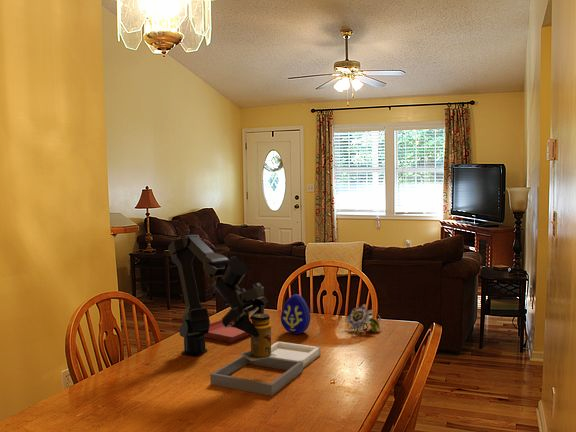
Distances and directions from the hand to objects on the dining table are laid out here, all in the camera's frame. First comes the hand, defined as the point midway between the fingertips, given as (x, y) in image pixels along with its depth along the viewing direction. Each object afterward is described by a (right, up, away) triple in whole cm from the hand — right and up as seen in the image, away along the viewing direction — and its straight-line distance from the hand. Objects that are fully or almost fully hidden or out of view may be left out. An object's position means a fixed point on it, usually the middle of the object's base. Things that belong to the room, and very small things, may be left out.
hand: (263, 333), depth 154 cm
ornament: (+11, -10, +45) cm, 48 cm away
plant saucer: (-15, -11, +45) cm, 49 cm away
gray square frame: (-2, -13, 0) cm, 13 cm away
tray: (+8, -12, +17) cm, 22 cm away
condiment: (-2, -7, +1) cm, 7 cm away
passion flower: (+37, -10, +48) cm, 61 cm away
